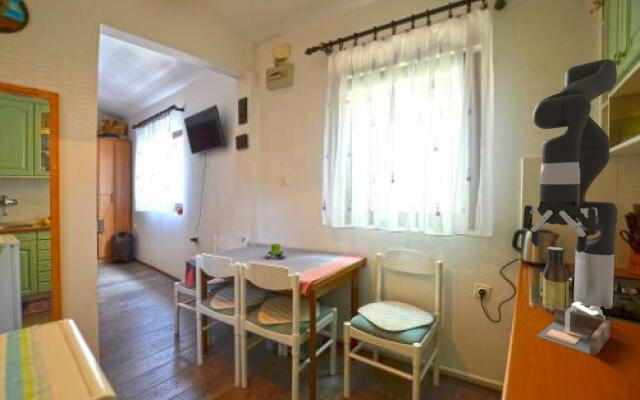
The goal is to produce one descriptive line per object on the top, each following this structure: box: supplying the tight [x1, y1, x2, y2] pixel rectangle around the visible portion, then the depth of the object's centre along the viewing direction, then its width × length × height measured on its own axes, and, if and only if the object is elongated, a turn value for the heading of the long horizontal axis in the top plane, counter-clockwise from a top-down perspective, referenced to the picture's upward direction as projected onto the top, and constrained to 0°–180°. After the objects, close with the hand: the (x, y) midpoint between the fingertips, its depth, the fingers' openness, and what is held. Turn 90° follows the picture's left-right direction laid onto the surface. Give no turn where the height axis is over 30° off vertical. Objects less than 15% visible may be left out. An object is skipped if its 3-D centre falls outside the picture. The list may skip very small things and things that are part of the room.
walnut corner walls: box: [553, 307, 612, 357], centre depth 77 cm, size 14×11×4 cm
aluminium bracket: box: [565, 306, 593, 340], centre depth 79 cm, size 6×4×6 cm
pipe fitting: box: [570, 302, 606, 320], centre depth 88 cm, size 8×4×7 cm
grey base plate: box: [536, 321, 591, 355], centre depth 78 cm, size 14×11×1 cm
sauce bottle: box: [542, 246, 570, 315], centre depth 92 cm, size 7×6×20 cm
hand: (557, 248), depth 74 cm, fingers open, 8 cm apart
